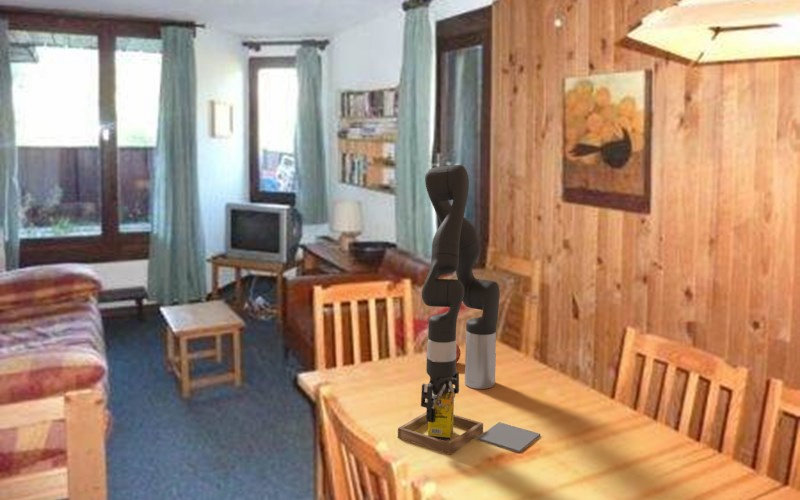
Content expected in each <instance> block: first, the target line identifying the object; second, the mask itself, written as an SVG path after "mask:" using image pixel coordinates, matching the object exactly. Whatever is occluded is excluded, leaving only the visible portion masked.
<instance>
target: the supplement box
mask: <svg viewBox="0 0 800 500" xmlns="http://www.w3.org/2000/svg"><path fill="white" fill-rule="evenodd" d="M432 395H433V396H437V395H434V394H433V392H432ZM454 401H455V397H454V392H453V393H449V392H447V393H446V394H443V395H442V396H441V398H440V400H439V401H438V402H437V404H436V407H435V408H436V410H435V422H433V423H432V422H427V424H428V425H427V426H428V427H427V430H428V431H427V436H430V437H434V438H437V439H440V440H443V441H451V438H452V435H453V432H454V425H453V415H455V414H454V411H455V410H454V409H455V408H454V407H455V405H454V404H455V402H454ZM432 403H433V399H432Z"/></svg>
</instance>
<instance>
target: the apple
mask: <svg viewBox="0 0 800 500" xmlns="http://www.w3.org/2000/svg"><path fill="white" fill-rule="evenodd" d="M460 358H461V349H460V346H459V345H458V344H457V343H456V364H457V362H459V360H460Z"/></svg>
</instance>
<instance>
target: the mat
mask: <svg viewBox="0 0 800 500" xmlns="http://www.w3.org/2000/svg"><path fill="white" fill-rule="evenodd" d="M539 437H541V433H538V432H535V431H532V430H528V429H526V428H523V427H517V426H515V425H511V424H507V423H504V422H500V421H499V422H497V423H496V424H494V425H493V426H491V427H490V428H489V429H488V430H486V431H483V432H482V433H481V434H480V435H478V436H477V437H476V440H477V441H479V442H481V443H486V444H488V445H489V444H490V445H492V446H495V447H499V448H502V449H506V450H509V451H512V452H515V453H518V454H519V453H521V452H523V451H524V450H525V449H526V448H527V447H529V446H530V445H531V444H532V443H533V442H535V441H536V440H537V439H538V438H539Z"/></svg>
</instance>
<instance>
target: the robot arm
mask: <svg viewBox="0 0 800 500" xmlns="http://www.w3.org/2000/svg"><path fill="white" fill-rule="evenodd" d="M424 175H425V176H424V183H425V189H426V192H427V195H428V197H429V199H430V203H431V204H432V207H433V209H434V212H435V213H436V216H437V218H438V220H439V223H440V225H439V226H438V228H437V230H436V231H435V233H434V236H433V239H432V244H431V257H430V258H431V259H430V265H429V270H428V273H427V276H426V278H425V281H424V284H423V286H422V290H421V299H422V301H423V303H424V304H425V305H426V306H428V307H439V308H448V310H447V311H446V312H444V313H439V314H435V315H431V316H430V317H429V319H428V328H427V329H428V336H427V338H428V339H427V340H428V341H427V345H426V367H425V368H426V370H425V371H426V372H425V373H426V374H427V375H428V376H429V377H430V378H429V382H428V383H422V385H421V398H420V407H422V408H426V411H425V412H426V414H427V415H426V419H427V421H428V422H432V423H433V422H435V410H436V408H435V407H436V404H437V402H438V401H439V400H440V398H441V396H442V395H443V394H446V393H447V392H449V393H453V392H454V398H456V394H459V392H460V372H459V371H456V370H457V363H456V344H457V342H456V341H457V322H458V321H457V320H458V316H459V312H460V309H461V307H462V304H463V305H465V307H467V308H469V309H474V310H475V309H476V310H480V311H482V315H481V316H479V317H474V318H473V317H472V318H471V319H469V320H467V322H466V325H465V326H466V327H465V331H466V332H465V357H464V358H465V361H464V362H465V363H464V364H465V365H464V385H466V387H468V388H471V389H477V390H479V389H480V390H484V389H490V388H492V387H494V386H495V382H496V366H497V365H496V362H497V353H496V347H497V346H496V345H497V343H496V342H497V325H498V320H499V309H500V307H499V306H500V290H501V289H500V286H499V283H497V281H494V280H488V279H481V278H476V277H475V276H474V273H473V268H474V266H475V264H476V262H477V261H478V259H479V256H480V254H481V251H482V250H481V247H482V246H481V243H480V240H479V239H480V238H479V237H478V236H479V235H478V233H477V230H476V228H475V226H474V225H473V224H472V223H471V221H469V220H468V219H467V218H466V217H465V213H466V207H467V204H468V203H467V202H468V195H469V190H470V181H469V175H468V172H467V168H465V166H464V165H462V164H455V165H454V164H453V165H445V166H436V167H431V168H429V169H428V170H427V171H426V172H425V174H424ZM450 201H452V204H451V203H450ZM452 273H455V274H456V279H453V278H449V279H448V278H440V277H441V276H443V275H444V276H445V275H448V274H452ZM432 392H433V394H434V395H437V396H433V395H432ZM432 399H433V403H432ZM428 422H427V423H428Z"/></svg>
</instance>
